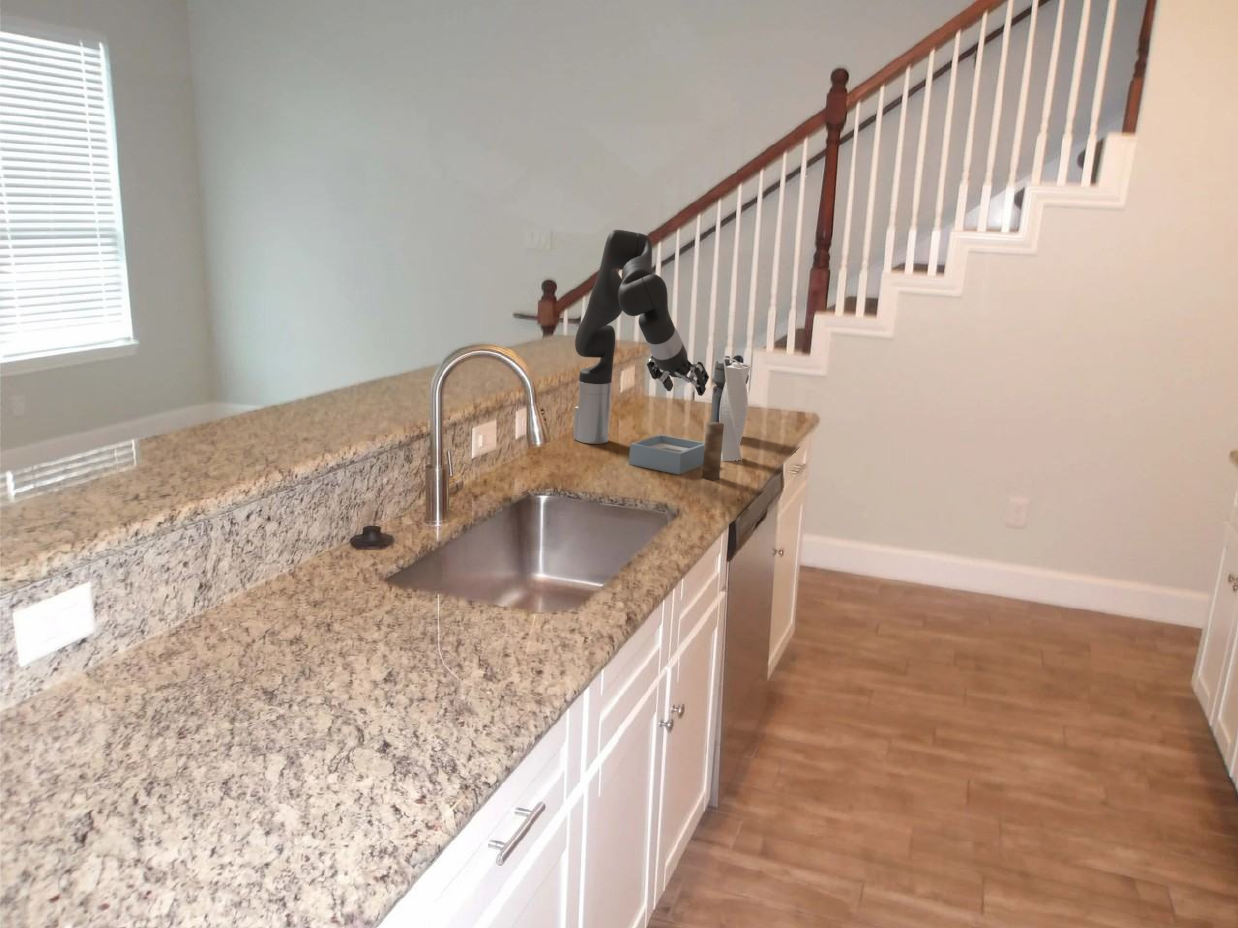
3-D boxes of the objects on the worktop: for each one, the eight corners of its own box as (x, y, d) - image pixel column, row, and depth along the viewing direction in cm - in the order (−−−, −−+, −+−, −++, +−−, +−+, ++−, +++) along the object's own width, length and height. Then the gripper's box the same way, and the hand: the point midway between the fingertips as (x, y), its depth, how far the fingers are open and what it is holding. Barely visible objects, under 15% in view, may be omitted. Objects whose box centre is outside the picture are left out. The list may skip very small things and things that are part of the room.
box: (628, 464, 255) (630, 443, 254) (658, 453, 269) (660, 434, 267) (679, 474, 248) (680, 453, 247) (707, 463, 261) (708, 443, 260)
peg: (698, 477, 246) (703, 423, 243) (706, 474, 250) (711, 421, 246) (714, 481, 244) (719, 426, 240) (722, 477, 247) (726, 423, 244)
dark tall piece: (749, 435, 299) (757, 354, 293) (734, 442, 288) (742, 358, 282) (718, 430, 304) (725, 350, 298) (703, 437, 292) (709, 354, 286)
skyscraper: (719, 462, 263) (728, 359, 256) (710, 455, 270) (718, 355, 263) (747, 462, 265) (756, 360, 258) (736, 455, 272) (745, 355, 265)
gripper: (700, 336, 218) (718, 382, 230) (645, 330, 225) (666, 375, 238) (687, 362, 215) (707, 407, 227) (632, 355, 222) (654, 399, 234)
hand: (686, 390), depth 232 cm, fingers open, 8 cm apart
